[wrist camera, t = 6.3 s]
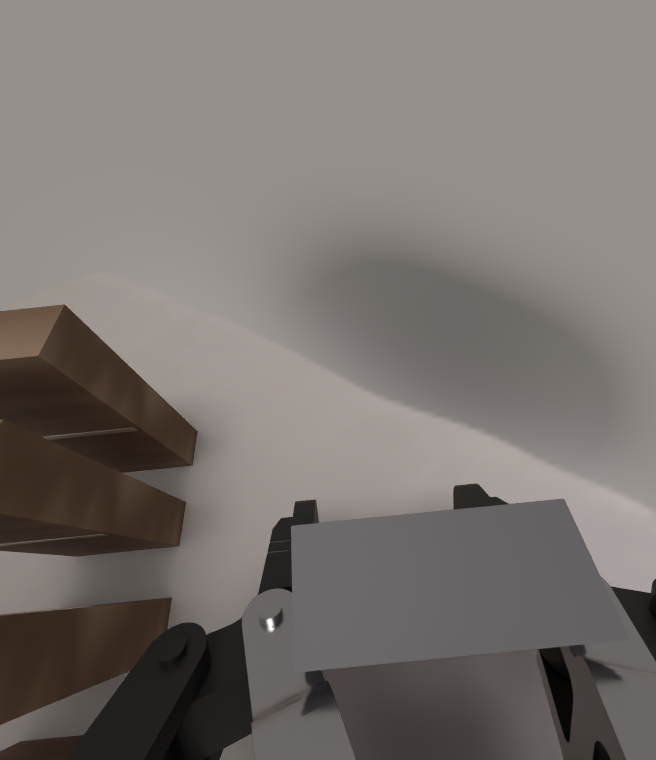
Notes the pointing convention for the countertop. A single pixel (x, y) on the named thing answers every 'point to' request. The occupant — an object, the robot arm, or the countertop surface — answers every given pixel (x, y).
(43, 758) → the domino
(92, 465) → the domino
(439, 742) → the countertop surface
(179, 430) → the domino
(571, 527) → the domino
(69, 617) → the domino
